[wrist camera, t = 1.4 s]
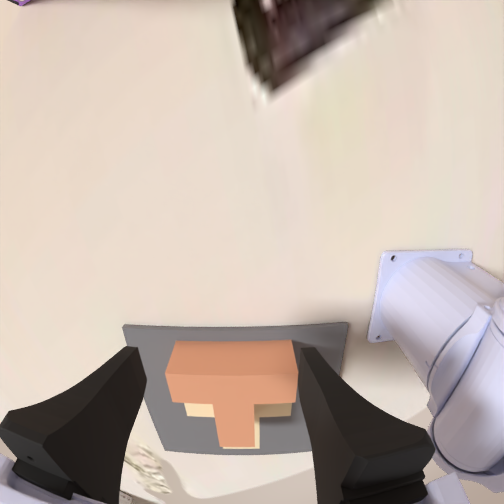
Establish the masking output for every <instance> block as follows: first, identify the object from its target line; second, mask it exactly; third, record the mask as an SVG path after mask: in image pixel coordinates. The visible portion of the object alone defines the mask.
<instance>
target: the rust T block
mask: <svg viewBox="0 0 504 504" xmlns="http://www.w3.org/2000/svg"><path fill="white" fill-rule="evenodd" d="M165 376H166V379H167V383H168V387H169V391H170V394H171V398H172V402H178V403H194V404H213V410H214V416H215V422H216V428H217V434H218V439H219V444H220V447H255V428H254V404H278V403H294V402H295V401H296V392H297V383H298V382H297V381H298V369H297V364H296V359H295V355H294V350H293V345H292V340H272V341H176V342H175V345H174V348H173V351H172V354H171V357H170V360H169V363H168V366H167V369H166V372H165Z"/></svg>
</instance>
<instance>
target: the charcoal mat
mask: <svg viewBox="0 0 504 504" xmlns="http://www.w3.org/2000/svg"><path fill="white" fill-rule="evenodd" d="M122 329H123V333H124V336H125V340H126V343H127V346H131V347H138V349H139V353H140V357H141V360H142V364H143V367H144V370H145V374H146V377H147V384H146V389H145V393H144V399H145V402H146V405H147V408H148V410H149V413H150V416H151V418H152V421H153V423H154V426H155V428H156V431H157V433H158V435H159V438H160V440H161V443H162V445H163V447H164V449H165V451H174V452H184V453H196V454H214V455H268V454H286V453H298V452H308V451H312V447H311V442H310V438H309V434H308V430H307V426H306V423H305V419H304V415H303V411H302V407H301V403H300V398H299V391H298V383H297V392H296V401H295V402H294V403H278V404H254V428H255V447H220V444H219V439H218V434H217V428H216V422H215V416H214V410H213V404H194V403H178V402H172V398H171V394H170V391H169V387H168V383H167V379H166V376H165V372H166V369H167V366H168V363H169V360H170V357H171V354H172V351H173V348H174V345H175V342H176V341H272V340H292V345H293V350H294V355H295V359H296V364H297V369H298V371H299V360H300V349H301V348H307V347H315V348H316V349H317V350H318V351H319V353H320V354H321V355H322V356H323V358H324V359H325V360H326V361H327V363H328V364H329V365H330V366H331V367H332V368H333V370H334V371H335V372H336V373H337V374H338V375H339V373H340V368H341V363H342V358H343V353H344V347H345V342H346V336H347V330H348V324H347V322H341V323H327V324H311V325H292V326H266V327H169V326H143V325H125V324H124V326H123V327H122Z"/></svg>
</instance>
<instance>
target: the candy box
mask: <svg viewBox="0 0 504 504" xmlns="http://www.w3.org/2000/svg"><path fill="white" fill-rule="evenodd" d="M8 1H10V2H12V3H15V4H17V5H19V6H22V5H24V4H25V3H27V2H29V1H30V0H8Z"/></svg>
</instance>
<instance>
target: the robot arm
mask: <svg viewBox="0 0 504 504" xmlns="http://www.w3.org/2000/svg"><path fill="white" fill-rule="evenodd" d="M460 254H461V255H460ZM472 254H473V253H472V251H471V250H469V249H444V250H403V251H385V252H383V253H382V255H381V257H380V265H379V272H378V279H377V286H376V292H375V298H374V304H373V309H372V315H371V320H370V325H369V330H368V335H367V339H368V341H369V342H370V343H376V342H383V341H391V340H395V341H396V343H397V344H398V346H399V347H400V349H401V350H402V352H403V353H404V355H405V356H406V358H407V359H408V361H409V362H410V364H411V365H412V367H413V368H414V370H415V371H416V373H417V374H418V376H419V378H420V379H421V381H422V382H423V384H424V385H425V387H426V388H427V390H428V392H429V393H430V399H429V402H428V403H427V407H428V408H429V410H430V412H431V414H432V415H433V417H434V418H433V419H432V421H431V422H430V424H429V426H428V430H427V431H426V430H425V429H423V428H420V427H418V426H415V425H412V424H410V423H407V422H404V421H402V420H400V419H398V418H396V417H394V416H392V415H390V414H388V413H386V412H384V411H383V410H381V409H379V408H378V407H376V406H374V405H373V404H371V403H370V402H369V401H367V400H366V399H364V398H363V397H362V396H361V395H359V394H358V393H357V392H356V391H355V390H353V389H352V388H351V387H350V386H349V385H348V384H347V383H346V382H345V381H344V380H343V379H342V378H341V377H340V376H339V375H338V374H337V373H336V372H335V371H334V370H333V368H332V367H331V366H330V365H329V364H328V363H327V361H326V360H325V359H324V358H323V356H322V355H321V354H320V353H319V351H318V350H317V349H316V348H315V347H307V348H301V349H300V360H299V371H298V381H297V382H298V391H299V398H300V403H301V407H302V411H303V415H304V419H305V423H306V426H307V430H308V434H309V438H310V442H311V447H312V454H313V462H314V470H315V479H316V490H317V501H318V504H470V502H469V500H468V497H467V495H466V493H465V491H464V489H463V487H462V485H461V483H460V480H459V479H462V480H469V481H474V482H477V483H479V484H482V485H483V486H485V487H487V488H488V489H489V490H491V491H492V492H494V493H499V492H504V283H503V282H501V281H500V280H498V279H497V278H495V277H494V276H492V275H491V274H489V273H488V272H486V271H484V270H483V269H481V268H480V267H478V266H477V265H475V264H473V263H472V262H471V260H472ZM394 255H395V257H394V259H393V260H391V257H392V256H394ZM459 255H460V257H459ZM379 335H380V336H379ZM377 336H379V337H378V338H377ZM146 384H147V377H146V374H145V370H144V367H143V364H142V360H141V357H140V353H139V349H138V347H131V346H125V347H124V348H123V349H121V350H120V351H119V352H118V353H117V354H115V355H114V356H113V357H112V358H111V359H109V360H108V361H107V362H106V363H104V364H103V365H102V366H101V367H100V368H98V369H97V370H96V371H94V372H93V373H92V374H90V375H89V376H88V377H86V378H85V379H84V380H82V381H81V382H79V383H78V384H76V385H75V386H73V387H71V388H70V389H68V390H66V391H64V392H63V393H61V394H58V395H56V396H54V397H52V398H50V399H48V400H45V401H43V402H40V403H37V404H34V405H31V406H28V407H24V408H20V409H16V410H11V411H9V412H8V413H7V415H6V416H5V418H4V419H3V421H2V422H1V424H0V437H1V439H2V440H3V442H4V443H5V444H6V445H7V447H8V448H9V449H10V450H11V451H12V453H13V454H14V455H15V456H16V457H17V460H16V462H14V461H13V460H11V459H10V458H8V457H6V456H5V455H3V454H1V453H0V504H119V494H120V483H121V474H122V468H123V462H124V456H125V452H126V447H127V442H128V439H129V436H130V433H131V430H132V427H133V425H134V422H135V419H136V417H137V414H138V411H139V409H140V406H141V403H142V400H143V397H144V393H145V389H146ZM431 458H433V460H434V461H435V462H436V464H437V465H438V466H439V467H440V468H441V469H442V470H443V471H445V472H446V473H447V474H448V475H445V476H443V477H440V478H438V479H436V480H434V481H431V482H429V483H428V484H427V485H424V482H423V479H424V478H425V475H424V472H423V468H424V467H425V466H426V465H427V464H428V462H429V461H430V460H431Z"/></svg>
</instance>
